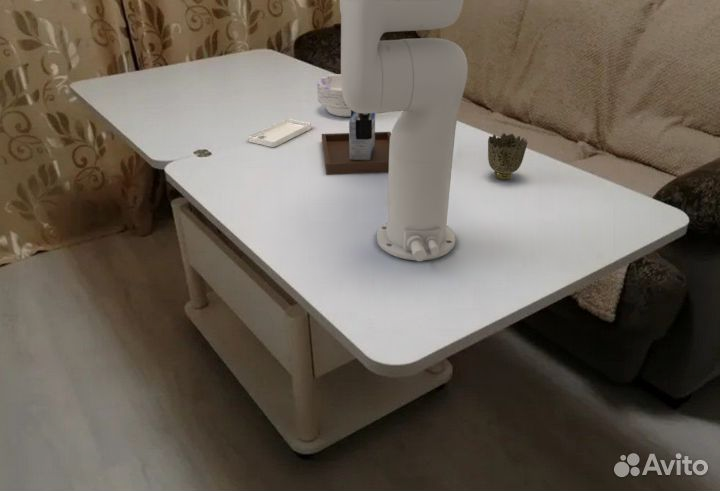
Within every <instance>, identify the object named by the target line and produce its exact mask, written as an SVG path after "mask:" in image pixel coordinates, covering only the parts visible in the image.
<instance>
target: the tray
mask: <svg viewBox="0 0 720 491" xmlns="http://www.w3.org/2000/svg"><path fill="white" fill-rule="evenodd" d="M391 133H392V131H375V146H374V150H373V153H372V156H371V159H370V161H366V160H351V159H350V146H349V132H339V133H321V147H322V153H323V160H324V168H325V174H326V175H341V174H342V175H343V174H344V175H345V174H368V173H371V174H372V173H389V142H390V136H391Z"/></svg>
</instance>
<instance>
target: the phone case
mask: <svg viewBox="0 0 720 491" xmlns="http://www.w3.org/2000/svg"><path fill="white" fill-rule="evenodd" d="M294 122H298V123H294ZM300 123H302V124H300ZM304 124H305V125H304ZM311 129H312V123H311V122H308V121H303V120H298V119H294V118H285V119H282V120H280V121H278V122H276V123H273V124H271V125H269V126H267V127H264V128H262V129H260V130H258V131H256V132H254V133H252V134H249V135H248V141H249V142H250V143H253V144H258V145H262V146H265V147H270V148H275V147H278V146H280V145H282V144H283V143H286V142H287V141H289V140H291V139H293V138H295V137H298V136H299V135H301V134H304V133H306V132H308V131H309V130H311ZM262 137H263V138H262Z"/></svg>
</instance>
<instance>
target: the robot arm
mask: <svg viewBox="0 0 720 491" xmlns="http://www.w3.org/2000/svg"><path fill="white" fill-rule="evenodd" d="M464 1H465V0H339V12H340V74H341V87H342V94H343V98H344V101H345V103H346V105H347V106H348V107H349V108H350V109H351V117H350V119H351V118H352V115H353V113H354V112H357V119H356V139H357V140H359V139H371V138H372V119H371V113H375V114H381V113H382V114H383V113H396V112H402V113H401V114H400V115H399V117H398V119H397V120H396V122H395V124H394V126H393V127H392V130H391V136H390V142H389V172H387V173H388V175H387V176H388V177H387V178H388V179H387V180H388V181H387V204H386V206H387V209H386V222H384V223H383V224H382V225H381V226H380V227H378V230H377V231H376V242H377V244H378V246H379V247H380V248H381V250H383V251H384V252H386V254H389V255H391V256H394V257H396V258H400V259H404V260H408V261H409V260H410V261H415V262H422V261H428V260H434V259H438V258H441V257H443V256H445V255H447V254H449V253H450V252H451V251H452V250H453V249H454V247H455V245H456V244H455V243H456V235H455V233H454V231H453V229H451V228H450V227H449V226H448V225H447V224H448V214H449V202H450V192H451V181H452V179H451V178H452V171H453V170H452V169H453V168H452V167H453V158H454V147H455V140H456V139H455V137H456V128H457V121H458V116H459V111H460V107H461V103H462V99H463V95H464V93H465V89H466V85H467V80H468V74H469V73H468V72H469V66H468V65H469V64H468V60H467V55H466V54H465V52H464V50H463V48H462V47H461V46H460V45H459V44H457V43H456V42H454V41H452V40H449V39H446V38H440V37H422V38H421V37H419V38H400V39H388V40H387V39H386V40H384V39H383V40H381V38H382V36H383V35H384V34H385V33H391V32H412V31H413V32H414V31H428V30H429V31H430V30H439V29H444V28H448V27H451V26H452V25H454V24H455V23H456V22H457V21H458V20H459V17H460V15H461V13H462V11H463V6H464Z"/></svg>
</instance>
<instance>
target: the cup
mask: <svg viewBox="0 0 720 491" xmlns="http://www.w3.org/2000/svg"><path fill="white" fill-rule="evenodd" d="M528 143H529V142H528V141H527V139H526V138H525V137H523V138H521V136H520V135H519V136H517V137H516V135H515V134H513V133H509V134H506V133H505V132H503V133H501V135H500V136H499V137H498V136H497V135H496V134H493V135H492V136H490V135H489V136H488V139H487V161H488V164H489V167H490V168H491V169H492V170H493V177H494V178H495V179H497V180H498V181H509V180H512V177H513V173H515V172H516V171H518V170H519V169H520V167H521V166H522V163H523V160H524V157H525V154H526V150H527V146H528Z"/></svg>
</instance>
